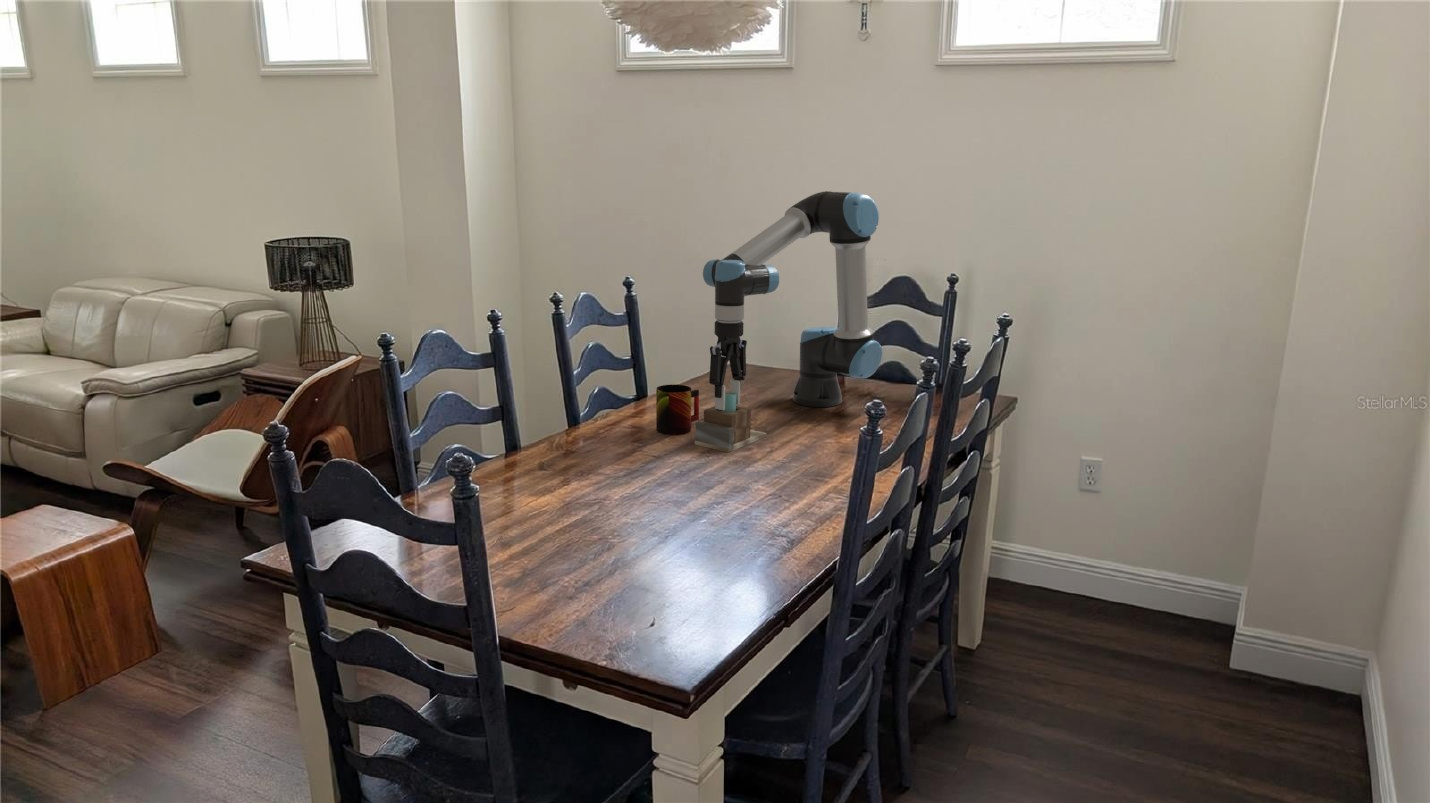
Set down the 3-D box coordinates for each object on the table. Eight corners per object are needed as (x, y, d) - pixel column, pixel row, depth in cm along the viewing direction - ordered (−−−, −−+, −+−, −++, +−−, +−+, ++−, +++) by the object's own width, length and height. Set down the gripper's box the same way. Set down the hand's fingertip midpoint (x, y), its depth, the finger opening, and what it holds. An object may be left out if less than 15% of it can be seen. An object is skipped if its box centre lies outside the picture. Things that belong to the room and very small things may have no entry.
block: (722, 431, 274) (723, 403, 272) (750, 437, 269) (751, 408, 267) (703, 439, 267) (703, 410, 265) (731, 445, 262) (731, 415, 260)
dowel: (725, 435, 270) (727, 392, 268) (736, 437, 268) (739, 394, 266) (718, 438, 268) (720, 394, 265) (729, 440, 266) (731, 396, 263)
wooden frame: (733, 429, 280) (733, 408, 278) (766, 436, 274) (767, 415, 272) (694, 444, 266) (694, 422, 264) (728, 452, 259) (729, 430, 258)
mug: (699, 423, 285) (699, 382, 282) (685, 436, 272) (685, 394, 269) (666, 420, 288) (666, 380, 285) (651, 433, 275) (651, 391, 272)
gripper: (738, 314, 269) (736, 397, 275) (695, 323, 254) (694, 411, 260) (761, 317, 265) (759, 401, 271) (719, 327, 250) (717, 416, 256)
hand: (727, 406), depth 266 cm, fingers open, 6 cm apart
